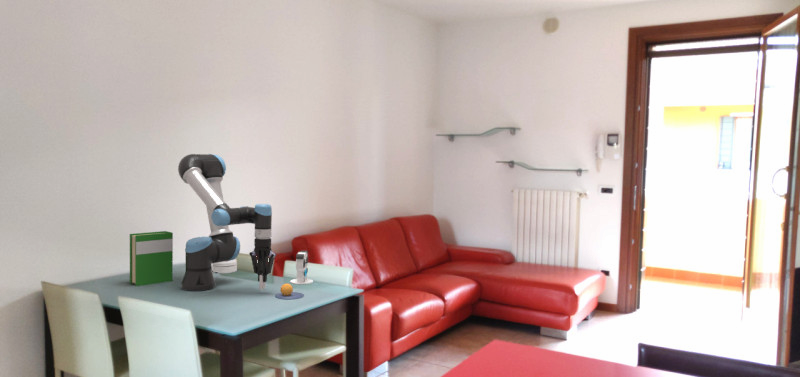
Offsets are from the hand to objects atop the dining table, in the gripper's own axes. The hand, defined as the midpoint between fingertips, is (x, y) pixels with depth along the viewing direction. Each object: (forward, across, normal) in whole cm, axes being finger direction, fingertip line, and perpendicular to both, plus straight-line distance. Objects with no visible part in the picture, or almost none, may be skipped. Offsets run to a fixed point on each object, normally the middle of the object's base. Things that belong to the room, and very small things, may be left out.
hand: (262, 288), depth 266 cm
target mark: (+2, +14, 0) cm, 14 cm away
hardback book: (+2, -60, -3) cm, 60 cm away
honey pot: (+2, -44, +35) cm, 57 cm away
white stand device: (+2, +6, +28) cm, 29 cm away
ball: (-1, +13, 0) cm, 13 cm away
